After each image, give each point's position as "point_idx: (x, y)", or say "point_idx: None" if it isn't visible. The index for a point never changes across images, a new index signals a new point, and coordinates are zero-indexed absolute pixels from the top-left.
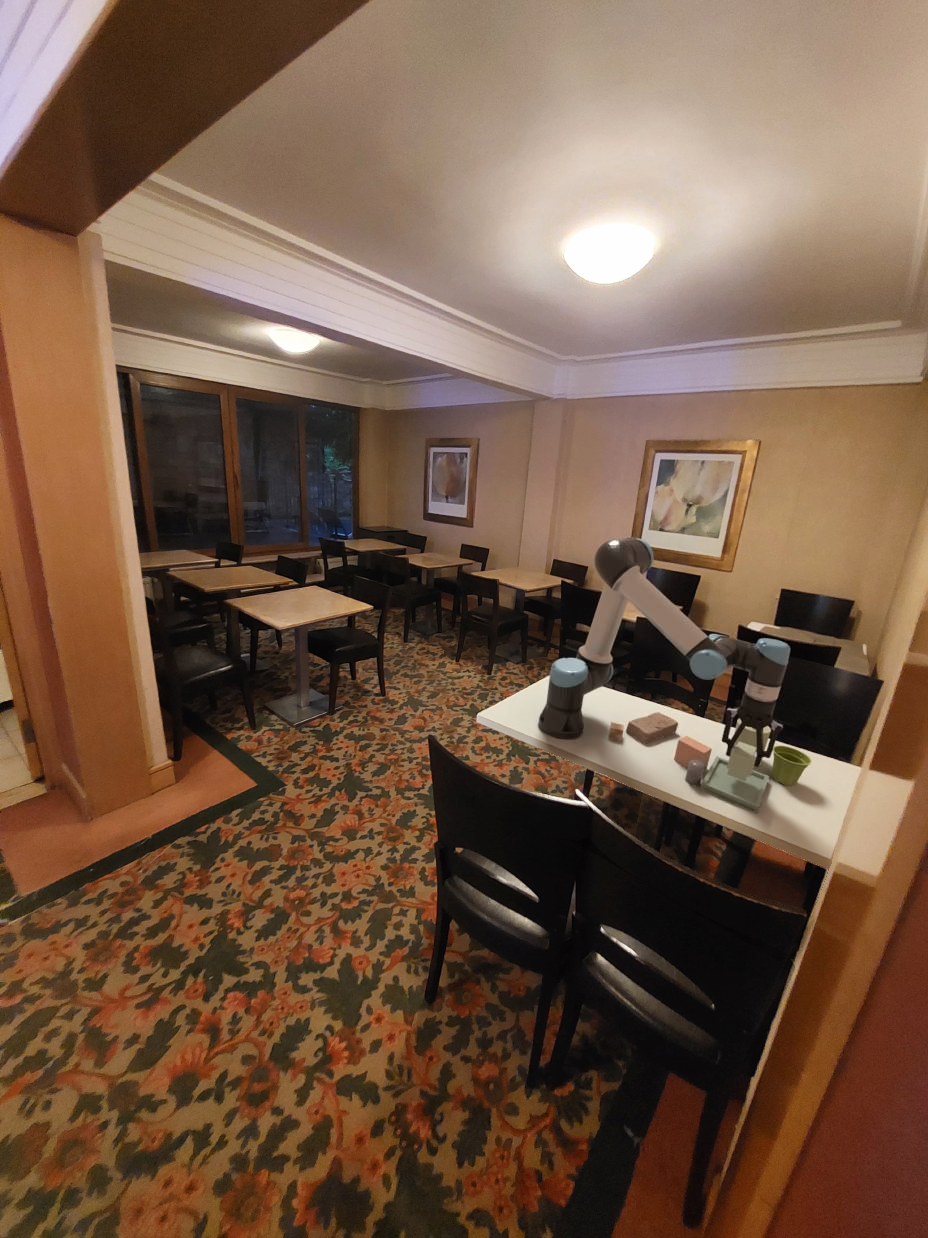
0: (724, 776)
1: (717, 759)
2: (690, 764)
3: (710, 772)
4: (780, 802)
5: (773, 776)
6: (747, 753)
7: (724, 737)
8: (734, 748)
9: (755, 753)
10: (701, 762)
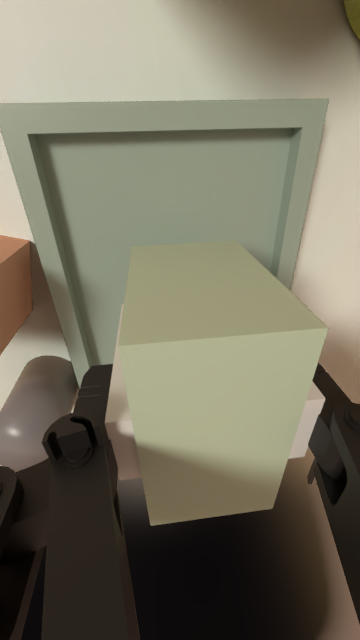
0: (124, 278)
1: (23, 157)
2: (7, 464)
3: (73, 330)
4: (338, 255)
5: (354, 8)
6: (242, 478)
7: (1, 596)
8: (135, 472)
9: (302, 420)
10: (26, 429)
